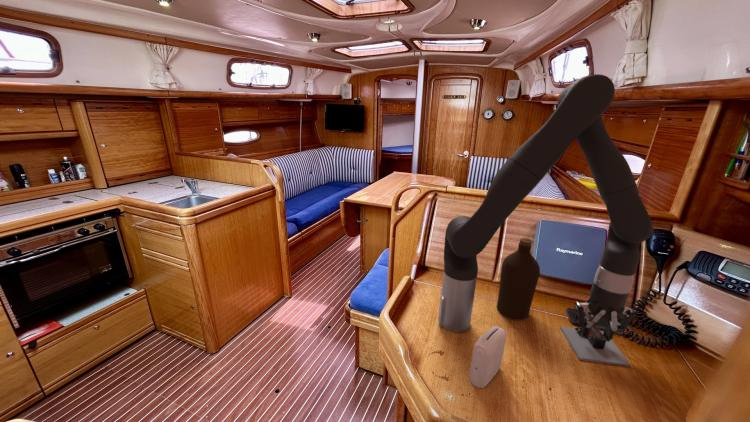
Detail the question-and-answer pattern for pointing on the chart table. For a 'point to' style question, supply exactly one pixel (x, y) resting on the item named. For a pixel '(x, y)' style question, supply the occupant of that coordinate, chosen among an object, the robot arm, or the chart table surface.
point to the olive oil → (518, 282)
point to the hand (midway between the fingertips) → (595, 337)
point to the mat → (594, 349)
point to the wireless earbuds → (595, 337)
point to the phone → (600, 323)
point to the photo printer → (487, 356)
